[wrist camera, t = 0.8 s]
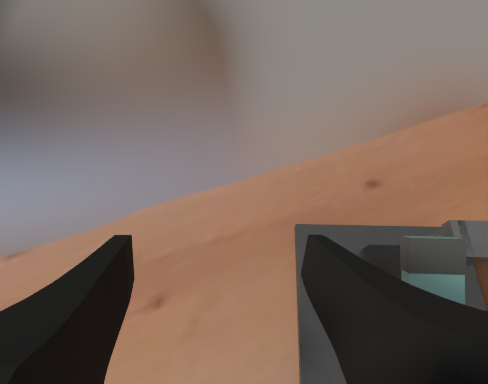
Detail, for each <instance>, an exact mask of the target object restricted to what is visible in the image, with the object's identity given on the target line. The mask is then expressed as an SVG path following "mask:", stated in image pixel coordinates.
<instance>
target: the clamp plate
mask: <svg viewBox="0 0 488 384" xmlns="http://www.w3.org/2000/svg"><path fill="white" fill-rule="evenodd" d="M308 235H323V236H325V237H327V238H329V239H331V240H332V241H334V242H336V243H337V244H339V245H341V246H342V247H344V248H345V249H347V250H349V251H350V252H352V253H353V254H355V255H357V256H358V257H360V258H362V259H363V260H365V261H367V262H368V263H370V264H372V265H374V266H375V267H377V268H379V269H381V270H383V271H384V272H386V273H388V274H390V275H392V276H394V277H396V278H398V279H400V280H401V269H400V236H439V237H457V238H463V239H466V275H465V305H467V306H471V307H474V308H477V309H480V310H484V311H487V310H486V307H485V303H484V299H483V296H482V292H481V288H480V285H479V281H478V277H477V274H476V270H475V266H474V264H478V263H482V262H485V261H488V221H464V220H449V221H447V222H446V223H444V224H442V227H411V226H360V225H310V224H296V225H295V250H296V281H297V312H298V343H299V373H300V384H347V383H346V380H345V377H344V375H343V372H342V369H341V367H340V364H339V361H338V359H337V356H336V353H335V351H334V349H333V346H332V344H331V342H330V340H329V338H328V336H327V334H326V332H325V330H324V328H323V326H322V324H321V322H320V320H319V318H318V316H317V314H316V312H315V310H314V308H313V306H312V304H311V301H310V299H309V297H308V295H307V292H306V289H305V287H304V283H303V280H302V277H301V269H302V264H303V259H304V254H305V248H306V243H307V238H308Z"/></svg>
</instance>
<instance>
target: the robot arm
mask: <svg viewBox="0 0 488 384" xmlns="http://www.w3.org/2000/svg"><path fill="white" fill-rule="evenodd" d="M301 277H302V280H303V283H304V287H305V289H306V292H307V295H308V297H309V299H310V301H311V304H312V306H313V308H314V310H315V312H316V314H317V316H318V318H319V320H320V322H321V324H322V326H323V328H324V330H325V332H326V334H327V336H328V338H329V340H330V342H331V344H332V346H333V349H334V351H335V353H336V356H337V359H338V361H339V364H340V367H341V369H342V372H343V375H344V377H345V380H346V383H347V384H488V311H484V310H480V309H477V308H474V307H471V306H467V305H464V304H461V303H458V302H455V301H452V300H449V299H446V298H443V297H441V296H438V295H436V294H433V293H430V292H428V291H425V290H423V289H420V288H418V287H416V286H413V285H411V284H409V283H407V282H405V281H402V280H400V279H398V278H396V277H394V276H392V275H390V274H388V273H386V272H384V271H383V270H381V269H379V268H377V267H375V266H374V265H372V264H370V263H368V262H367V261H365V260H363V259H362V258H360V257H358V256H357V255H355V254H353V253H352V252H350V251H349V250H347V249H345V248H344V247H342V246H341V245H339V244H337V243H336V242H334V241H332V240H331V239H329V238H327V237H325V236H323V235H308V238H307V243H306V248H305V254H304V259H303V264H302V269H301ZM133 283H134V266H133V250H132V235H114V236H113V237H112V238H110V239H109V240H108V241H107V242H106V243H104V244H103V245H102V246H101V247H100V248H98V249H97V250H96V251H95V252H93V253H92V254H91V255H90V256H88V257H87V258H86V259H85V260H83V261H82V262H81V263H79V264H78V265H77V266H75V267H74V268H73V269H71V270H70V271H68V272H67V273H66V274H64V275H63V276H61V277H60V278H59V279H57V280H56V281H54V282H52V283H51V284H49V285H48V286H46V287H45V288H43V289H41V290H39V291H38V292H36V293H34V294H33V295H31V296H29V297H27V298H26V299H24V300H22V301H20V302H18V303H16V304H14V305H12V306H10V307H8V308H6V309H4V310H2V311H0V384H104V380H105V376H106V372H107V368H108V365H109V361H110V358H111V355H112V352H113V349H114V346H115V343H116V340H117V337H118V335H119V332H120V329H121V326H122V323H123V320H124V317H125V314H126V311H127V308H128V305H129V302H130V298H131V293H132V288H133Z"/></svg>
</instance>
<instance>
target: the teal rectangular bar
mask: <svg viewBox="0 0 488 384" xmlns="http://www.w3.org/2000/svg"><path fill="white" fill-rule="evenodd" d="M400 269H401V280H402V281H405V282H407V283H409V284H411V285H413V286H416V287H418V288H420V289H423V290H425V291H428V292H430V293H433V294H436V295H438V296H441V297H443V298H446V299H449V300H452V301H455V302H458V303H461V304H464V305H465V275H466V239H463V238H457V237H439V236H400Z"/></svg>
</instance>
